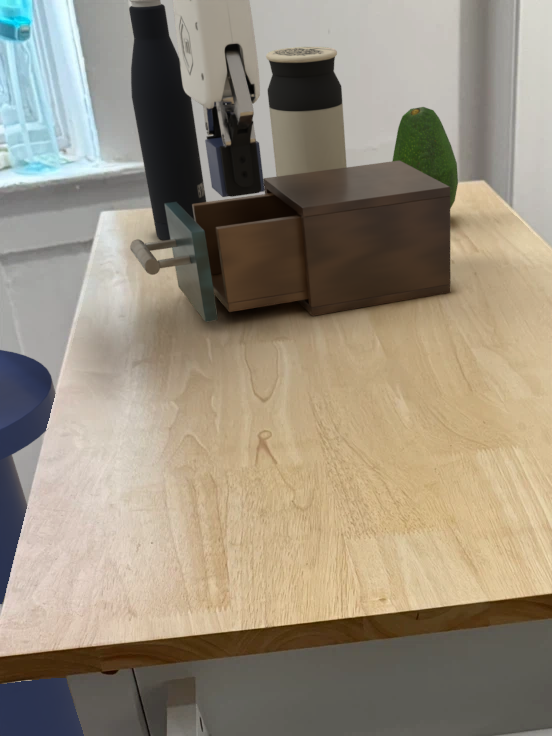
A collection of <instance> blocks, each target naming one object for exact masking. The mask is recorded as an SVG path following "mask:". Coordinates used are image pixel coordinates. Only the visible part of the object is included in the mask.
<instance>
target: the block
mask: <svg viewBox="0 0 552 736" xmlns="http://www.w3.org/2000/svg"><path fill="white" fill-rule="evenodd" d="M204 142H205V150H206V156H207V164H208V170H209V171H208V172H209V176H210V184H211V188H212V189H213V190H214V191H215V192H216V193H217V194H218V195H219V196H221V197H222V198H227V197H230V196H229V195H228V194H227V193H226V189H225V182H224V175H223V167H222V160H221V153H220V146H224V145H223V141H222V138H214V139H207V138H206V139H205V140H204ZM256 147H257V155H258V164H259V172H260V181H261V191H260V192H259V193H262V192H264V193H265V189H264V180H263V179H264V174H263V164H262V155H261V146H260V142H259V141H257V140H256Z"/></svg>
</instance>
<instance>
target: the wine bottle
mask: <svg viewBox="0 0 552 736" xmlns="http://www.w3.org/2000/svg"><path fill="white" fill-rule="evenodd" d="M129 2H131V5H130V6H129V8H128V11H129V17H130V24H131V29H132V35H133V45H132V46H133V47H132V56H131V66H130V85H131V88H130V90H131V100H132V106H133V111H134V118H135V122H136V128H137V135H138V139H139V145H140V151H141V156H142V162H143V168H144V173H145V179H146V184H147V189H148V195H149V199H150V207H151V211H152V217H153V218H152V219H153V223H154V228H155V235H156V238H158V240H160V241H164V240H171V239H170V234H169V228H168V222H167V216H166V210H165V203H171V202H177V203H178V204H179V205H180V206H181V207H182V208H183V209H184V210H185V211H186V212H187V213H188V214H189V215H190V216H191V217H192V218H193V220H194V214H193V208H192V204H195V203H203V202H207V197H206V190H205V182H204V176H203V170H202V169H203V168H202V163H201V156H200V150H199V142H198V136H197V135H198V134H197V129H196V122H195V117H194V115H195V114H194V109H193V104H192V103H193V101H192V98H191V97H190V96H188V95H187V94H186V93H185V91H184V88H183V84H182V77H181V69H180V60H179V53H178V52H177V50H176V47H175V45H174V43H173V40H172V39H171V36H170V32H169V31H170V30H169V25H168V18H167V12H166V6H165V5H164V4H163V3H161V0H129Z"/></svg>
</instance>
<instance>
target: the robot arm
mask: <svg viewBox="0 0 552 736" xmlns="http://www.w3.org/2000/svg"><path fill="white" fill-rule="evenodd" d="M251 7H252V6H251V1H250V0H172V8H173V17H174V25H175V34H176V40H177V41H176V43H177V51H178V52H177V53H178V57H179V60H180V69H181V77H182V84H183V88H184V91H185V93H186V94H187V95H188V96H190V97H191V100H194V101H195V102H197V104H199V105H201V106H202V108H203V109H202V110H203V117H204V127H205V132H206V139H214V138H222V141H223V145H224V146H220V153H221V160H222V167H223V175H224V182H225V189H226V193H227V194H228V195H229V196H228V197H231V198H234V197H240V196H247V195H254V194H255V195H256V194H259V193H261V192H260V191H261V181H260V172H259V164H258V155H257V147H256V141H257V139H256V132H255V131H256V130H255V126H254V124H255V123H254V119H253V118H254V115H255V113H254V106H253V104H255V103H257V101H258V99H259V98H260V96H261V84H260V83H261V82H260V71H259V70H260V69H259V60H258V52H257V44H256V36H255V29H254V23H253V15H252V8H251Z"/></svg>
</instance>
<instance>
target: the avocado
mask: <svg viewBox="0 0 552 736" xmlns="http://www.w3.org/2000/svg"><path fill="white" fill-rule="evenodd" d="M393 149H394V150H393V154H392V155H393V156H392V161H401V162H403V163H405V164H407V165H409V166H411V167H413V168H415V169H417V170H419V171H421V172H422V173H424V174H426V175H428V176H430V177H432V178H434V179H436V180H438V181H440V182H442V183H443V184H445V185H447V186H449V187H450V210H451V209H452V207H453V205H454V203H455V201H456V197H457V190H458V185H459V175H458V174H459V173H458V162H457V160H456V157H455V153H454V150H453V147H452V144H451V142H450V139H449V137H448V134H447V132H446V130H445V127H444V125H443V123H442V121H441V119H440V117H439V116H438V114H437V113H436V111H435V110H434V109H431V108H429V107H425V106H419V107H414V108H410V109H409V110H408V111H406V113H404V114H403V115H402V116H401V119H400V122H399V124H398V128H397V133H396V139H395V145H394V148H393Z"/></svg>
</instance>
